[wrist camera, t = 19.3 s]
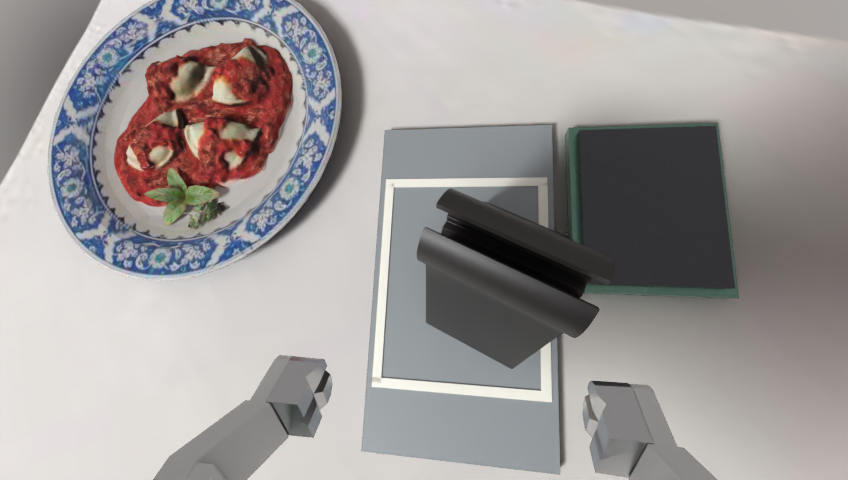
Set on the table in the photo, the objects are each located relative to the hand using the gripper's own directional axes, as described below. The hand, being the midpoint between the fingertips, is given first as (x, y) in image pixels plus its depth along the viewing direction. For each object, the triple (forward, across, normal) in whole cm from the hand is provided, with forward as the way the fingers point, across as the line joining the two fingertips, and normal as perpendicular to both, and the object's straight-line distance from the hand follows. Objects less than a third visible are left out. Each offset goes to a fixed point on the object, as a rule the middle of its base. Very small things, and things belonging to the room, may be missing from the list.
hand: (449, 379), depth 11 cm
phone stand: (+11, -2, +6) cm, 13 cm away
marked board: (+12, 0, +6) cm, 13 cm away
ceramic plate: (+20, +22, -2) cm, 30 cm away
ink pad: (+15, -11, +2) cm, 19 cm away
